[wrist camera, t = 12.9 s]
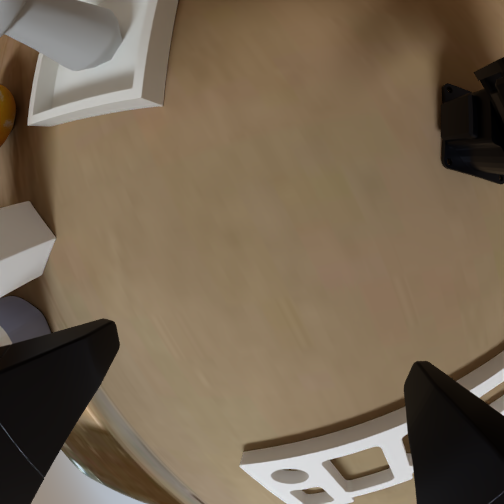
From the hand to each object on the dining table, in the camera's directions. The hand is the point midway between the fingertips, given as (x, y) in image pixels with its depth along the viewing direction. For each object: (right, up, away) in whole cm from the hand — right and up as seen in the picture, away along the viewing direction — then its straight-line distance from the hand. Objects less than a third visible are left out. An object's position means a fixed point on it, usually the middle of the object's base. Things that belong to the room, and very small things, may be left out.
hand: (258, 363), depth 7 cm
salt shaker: (-13, +20, +9) cm, 26 cm away
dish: (-13, +21, +10) cm, 26 cm away
